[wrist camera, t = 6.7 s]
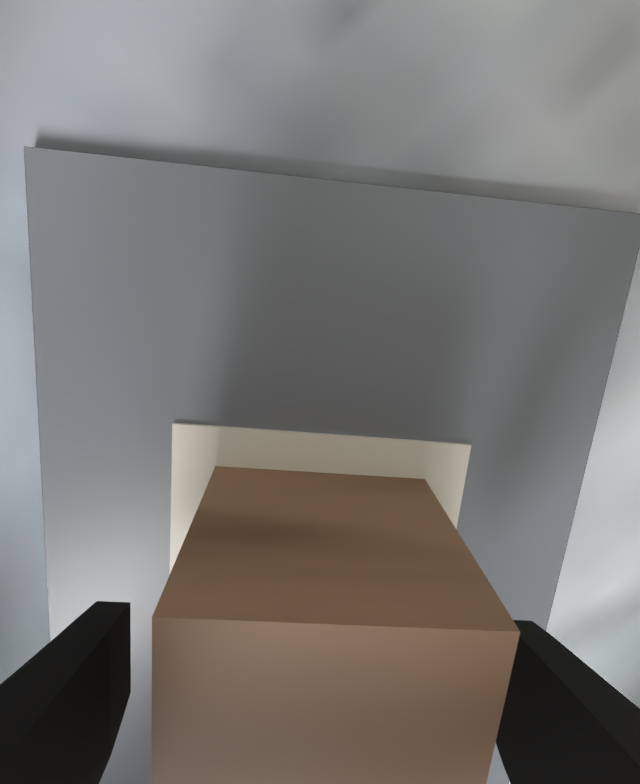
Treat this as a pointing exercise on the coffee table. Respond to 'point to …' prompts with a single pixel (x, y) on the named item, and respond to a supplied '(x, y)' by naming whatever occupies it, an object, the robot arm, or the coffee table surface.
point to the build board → (305, 367)
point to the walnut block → (326, 638)
